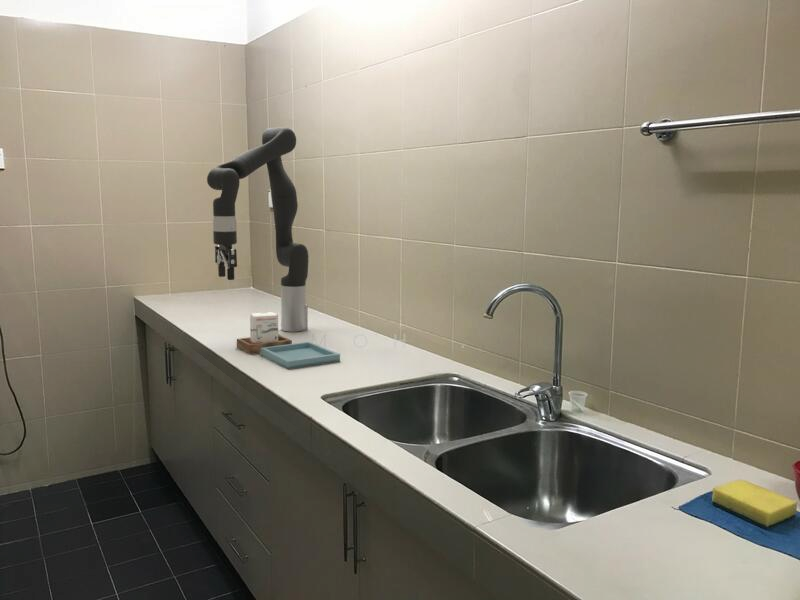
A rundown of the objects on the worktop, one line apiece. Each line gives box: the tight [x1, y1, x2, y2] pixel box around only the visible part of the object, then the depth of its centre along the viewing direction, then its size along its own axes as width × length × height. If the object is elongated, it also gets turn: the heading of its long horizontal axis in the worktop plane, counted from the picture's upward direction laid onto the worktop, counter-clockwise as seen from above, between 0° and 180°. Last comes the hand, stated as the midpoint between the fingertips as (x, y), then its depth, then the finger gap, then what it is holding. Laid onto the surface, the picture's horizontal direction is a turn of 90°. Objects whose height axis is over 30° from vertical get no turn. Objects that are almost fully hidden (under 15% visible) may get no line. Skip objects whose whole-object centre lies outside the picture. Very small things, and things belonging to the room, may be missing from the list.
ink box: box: [249, 311, 279, 344], centre depth 222 cm, size 9×5×12 cm, turn 116°
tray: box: [259, 341, 341, 370], centre depth 211 cm, size 18×20×2 cm
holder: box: [236, 334, 293, 355], centre depth 223 cm, size 15×11×3 cm
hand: (226, 278), depth 221 cm, fingers open, 8 cm apart
